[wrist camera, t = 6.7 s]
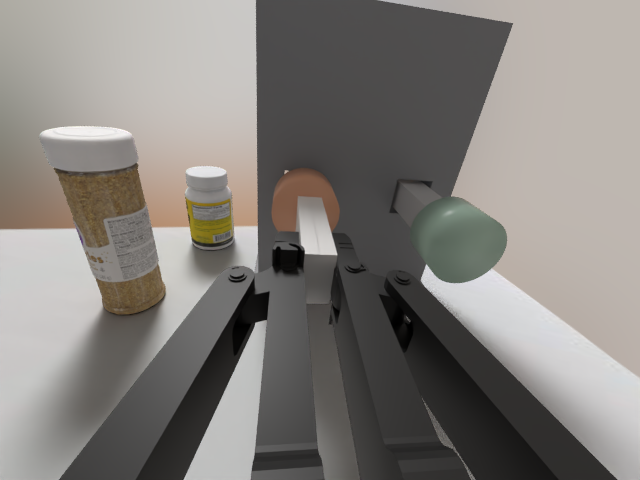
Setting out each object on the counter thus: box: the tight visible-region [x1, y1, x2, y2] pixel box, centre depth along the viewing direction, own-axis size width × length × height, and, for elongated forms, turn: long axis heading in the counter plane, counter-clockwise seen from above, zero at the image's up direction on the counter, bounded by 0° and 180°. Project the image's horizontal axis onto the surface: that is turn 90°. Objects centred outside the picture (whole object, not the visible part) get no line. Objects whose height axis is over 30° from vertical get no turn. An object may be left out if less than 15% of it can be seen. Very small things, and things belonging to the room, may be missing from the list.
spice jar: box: [39, 126, 166, 314], centre depth 20 cm, size 5×5×13 cm
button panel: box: [254, 0, 513, 300], centre depth 23 cm, size 17×7×22 cm, turn 96°
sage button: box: [391, 179, 507, 283], centre depth 20 cm, size 4×12×4 cm, turn 5°
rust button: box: [271, 168, 340, 232], centre depth 23 cm, size 4×12×4 cm, turn 6°
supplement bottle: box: [185, 166, 234, 250], centre depth 30 cm, size 5×5×8 cm
